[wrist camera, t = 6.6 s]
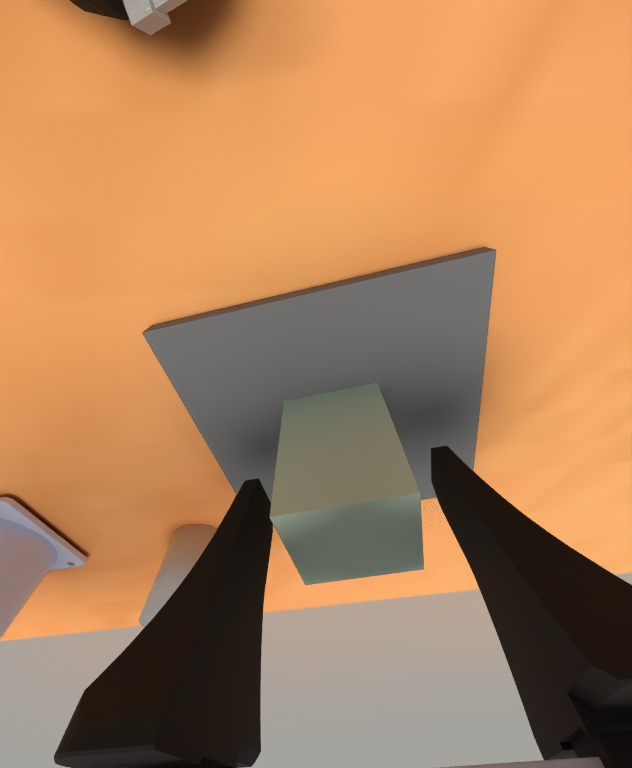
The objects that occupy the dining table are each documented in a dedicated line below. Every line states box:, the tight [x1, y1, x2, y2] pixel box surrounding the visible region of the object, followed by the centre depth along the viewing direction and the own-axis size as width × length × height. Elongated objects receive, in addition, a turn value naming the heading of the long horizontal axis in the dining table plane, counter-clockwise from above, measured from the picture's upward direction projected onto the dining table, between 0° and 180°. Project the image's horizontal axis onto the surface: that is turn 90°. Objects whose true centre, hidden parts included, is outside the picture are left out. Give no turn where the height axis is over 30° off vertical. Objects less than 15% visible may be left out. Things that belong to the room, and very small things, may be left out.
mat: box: [142, 247, 496, 502], centre depth 15 cm, size 14×14×1 cm
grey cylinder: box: [139, 524, 217, 627], centre depth 19 cm, size 4×4×5 cm
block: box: [270, 383, 424, 585], centre depth 12 cm, size 4×4×6 cm
